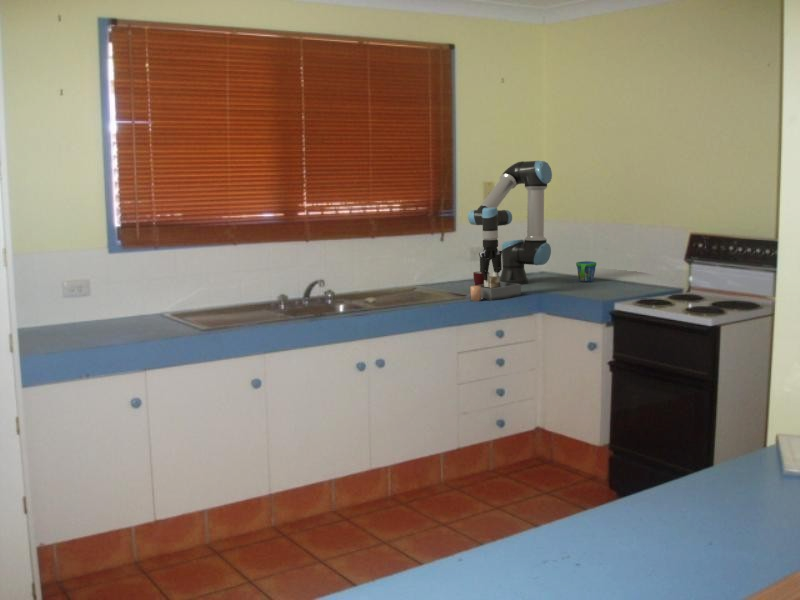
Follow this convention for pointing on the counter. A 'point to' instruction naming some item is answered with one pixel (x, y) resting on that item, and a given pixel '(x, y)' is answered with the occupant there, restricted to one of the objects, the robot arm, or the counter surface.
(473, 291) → the terracotta cylinder
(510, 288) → the tote
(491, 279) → the wood cube
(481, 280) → the mug
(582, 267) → the snack cup
